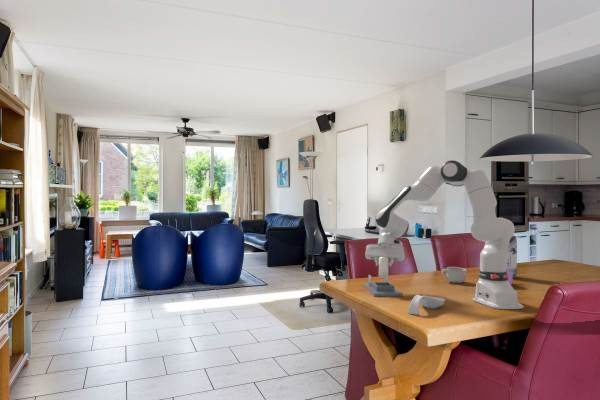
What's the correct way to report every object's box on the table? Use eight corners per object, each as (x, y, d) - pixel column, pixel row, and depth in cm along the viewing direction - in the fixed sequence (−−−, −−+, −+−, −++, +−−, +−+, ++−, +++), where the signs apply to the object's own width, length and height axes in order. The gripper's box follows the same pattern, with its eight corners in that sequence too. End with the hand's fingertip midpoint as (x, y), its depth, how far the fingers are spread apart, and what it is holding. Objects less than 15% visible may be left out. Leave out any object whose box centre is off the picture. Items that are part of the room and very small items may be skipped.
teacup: (463, 280, 239) (463, 266, 239) (468, 284, 228) (469, 270, 228) (438, 279, 240) (438, 266, 240) (443, 283, 229) (443, 269, 229)
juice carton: (500, 278, 246) (501, 233, 246) (498, 275, 256) (498, 232, 256) (517, 279, 243) (517, 234, 243) (514, 276, 253) (514, 232, 253)
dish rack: (402, 296, 200) (402, 283, 200) (374, 296, 199) (374, 283, 199) (388, 285, 224) (388, 273, 224) (363, 285, 223) (363, 274, 223)
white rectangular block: (390, 277, 209) (390, 257, 209) (382, 278, 207) (382, 258, 207) (384, 275, 213) (384, 256, 213) (376, 276, 211) (376, 257, 211)
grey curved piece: (424, 302, 190) (424, 286, 190) (449, 306, 182) (449, 290, 182) (400, 312, 172) (400, 295, 172) (427, 318, 164) (427, 300, 164)
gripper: (365, 240, 220) (362, 260, 211) (404, 241, 213) (403, 263, 204) (367, 247, 224) (364, 268, 215) (405, 249, 217) (403, 270, 208)
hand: (383, 265), depth 209 cm, fingers closed on white rectangular block, 5 cm apart
